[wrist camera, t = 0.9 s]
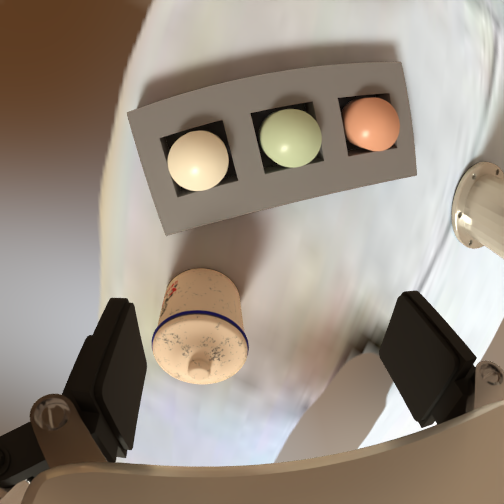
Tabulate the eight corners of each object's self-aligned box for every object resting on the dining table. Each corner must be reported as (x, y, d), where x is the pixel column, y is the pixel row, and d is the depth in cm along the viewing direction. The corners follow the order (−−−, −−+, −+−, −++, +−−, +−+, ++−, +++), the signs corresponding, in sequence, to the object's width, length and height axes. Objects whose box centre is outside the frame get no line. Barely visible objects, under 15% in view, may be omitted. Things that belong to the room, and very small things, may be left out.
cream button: (219, 123, 25) (220, 124, 23) (233, 175, 28) (235, 182, 25) (166, 139, 25) (160, 141, 23) (181, 189, 28) (177, 198, 25)
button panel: (386, 64, 25) (401, 61, 22) (402, 169, 30) (416, 175, 28) (135, 112, 25) (126, 112, 23) (170, 224, 30) (165, 236, 28)
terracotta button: (379, 96, 25) (395, 95, 23) (387, 143, 28) (402, 147, 25) (335, 101, 25) (347, 100, 23) (344, 150, 28) (357, 155, 25)
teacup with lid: (161, 262, 32) (139, 332, 22) (244, 266, 33) (257, 336, 23) (167, 345, 37) (157, 418, 27) (237, 347, 38) (245, 420, 28)
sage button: (305, 105, 25) (315, 104, 23) (315, 156, 28) (326, 161, 25) (252, 115, 25) (256, 115, 23) (265, 167, 28) (270, 173, 25)
